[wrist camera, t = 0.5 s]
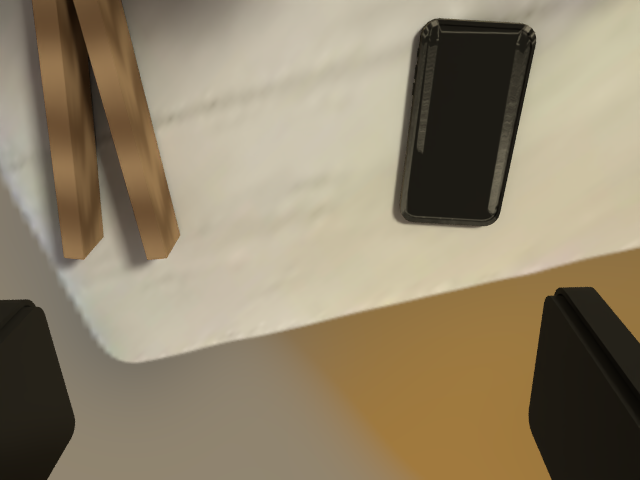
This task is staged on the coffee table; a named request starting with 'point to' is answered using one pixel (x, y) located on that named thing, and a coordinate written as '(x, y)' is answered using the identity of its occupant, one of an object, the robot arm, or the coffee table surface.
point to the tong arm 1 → (69, 124)
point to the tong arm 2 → (129, 122)
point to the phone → (464, 119)
